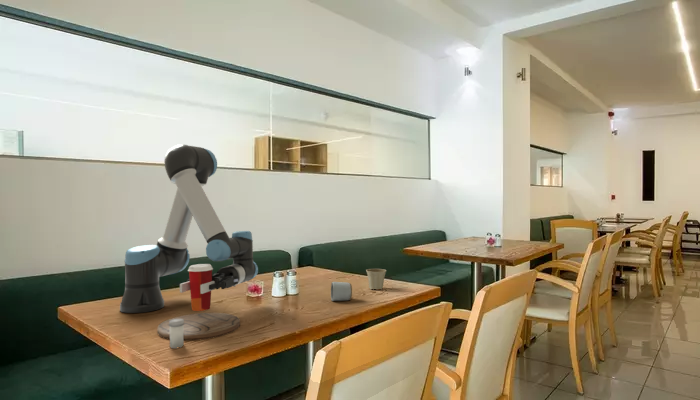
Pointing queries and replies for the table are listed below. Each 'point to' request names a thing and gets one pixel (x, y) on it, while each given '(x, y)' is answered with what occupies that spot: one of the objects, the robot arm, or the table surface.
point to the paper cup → (198, 277)
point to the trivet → (203, 325)
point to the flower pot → (376, 278)
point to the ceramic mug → (341, 291)
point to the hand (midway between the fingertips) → (191, 288)
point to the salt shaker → (176, 333)
